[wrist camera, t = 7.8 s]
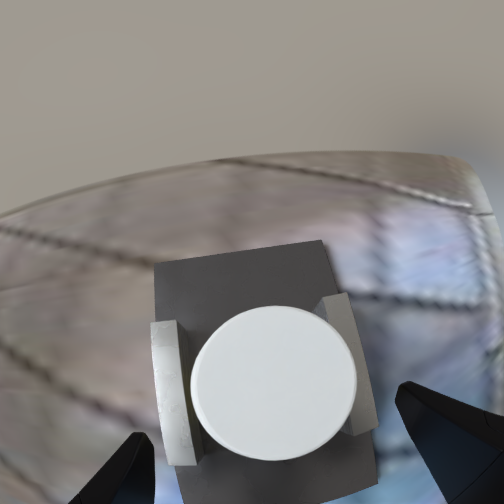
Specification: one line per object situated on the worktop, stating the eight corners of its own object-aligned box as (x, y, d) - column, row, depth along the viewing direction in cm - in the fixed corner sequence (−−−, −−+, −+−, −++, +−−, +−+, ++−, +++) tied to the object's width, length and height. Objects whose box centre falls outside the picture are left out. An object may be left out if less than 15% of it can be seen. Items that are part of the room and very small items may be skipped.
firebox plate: (373, 480, 11) (395, 493, 8) (190, 514, 10) (179, 535, 7) (319, 245, 20) (329, 219, 17) (157, 268, 19) (142, 245, 16)
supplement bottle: (300, 337, 16) (358, 266, 7) (315, 422, 13) (398, 454, 5) (210, 349, 15) (159, 291, 7) (221, 436, 13) (180, 495, 4)
